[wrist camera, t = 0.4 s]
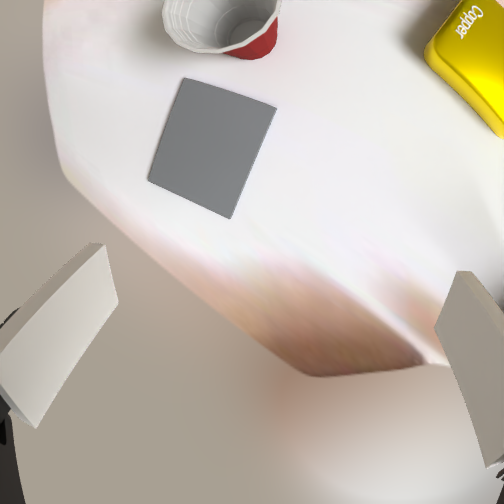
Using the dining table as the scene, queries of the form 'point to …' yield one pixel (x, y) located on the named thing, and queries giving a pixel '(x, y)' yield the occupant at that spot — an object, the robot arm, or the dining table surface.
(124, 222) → the dining table surface
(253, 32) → the plastic cup
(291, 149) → the dining table surface
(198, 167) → the card
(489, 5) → the element tile
